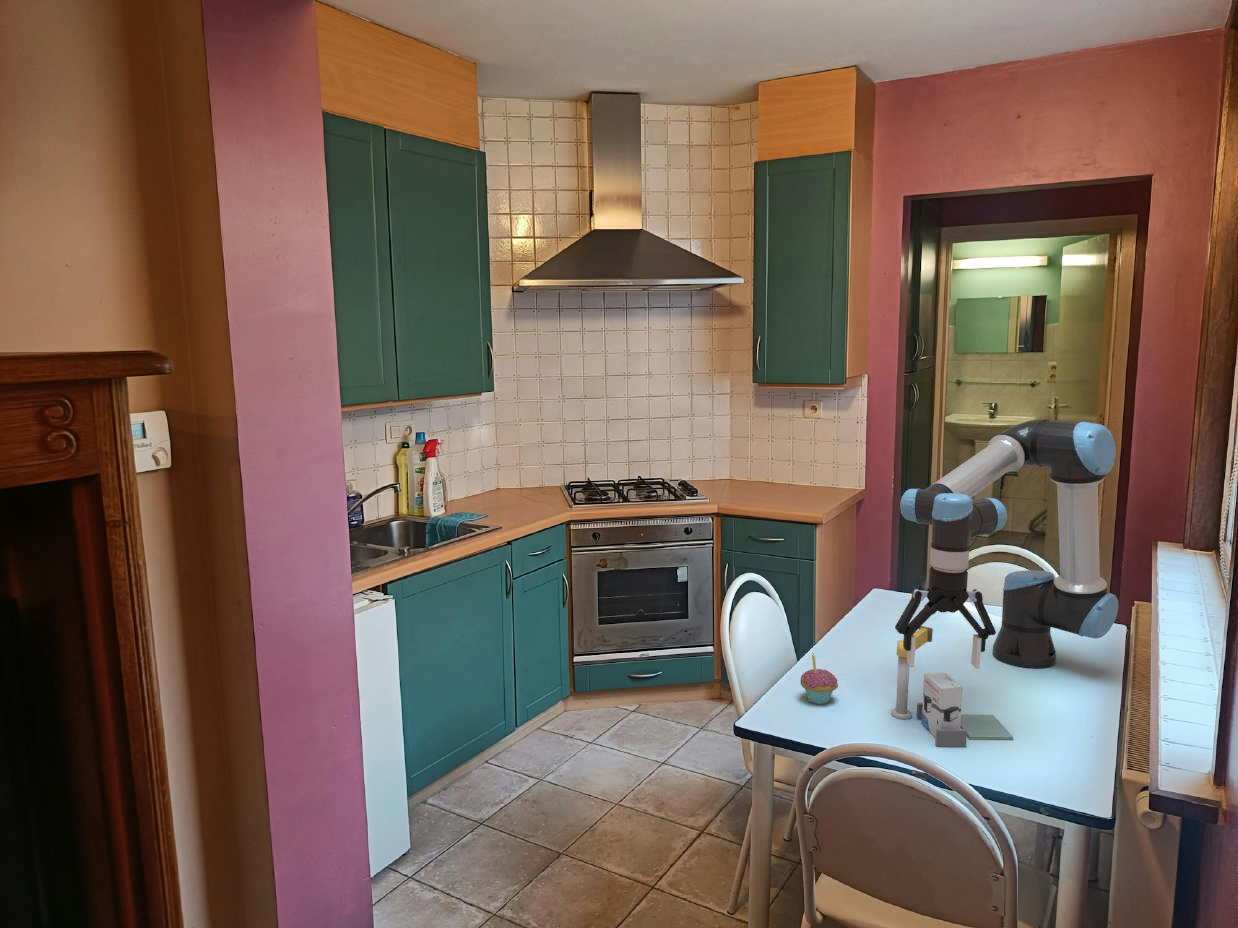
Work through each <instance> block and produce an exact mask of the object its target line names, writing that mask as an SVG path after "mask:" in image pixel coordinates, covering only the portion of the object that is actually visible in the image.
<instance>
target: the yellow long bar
mask: <svg viewBox="0 0 1238 928" xmlns="http://www.w3.org/2000/svg"><path fill="white" fill-rule="evenodd" d="M933 632H934V628H933V627H927V626H923V625H922V626H921V627H920V628H919V629H918V630H917V631H916V632H915V633H914V634H913V635H914V636H915V637H916V643H915V651H917V650H919V648H921V647H922V646H924V645H925V644H926V643H927V642H928V643H932V642H933ZM903 640H904V639H900V640H897V641H896V656H897V657H898V656H899V657H903V658H907V651H906V650H905V649H904V647H903Z"/></svg>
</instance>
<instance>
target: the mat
mask: <svg viewBox="0 0 1238 928" xmlns="http://www.w3.org/2000/svg"><path fill="white" fill-rule="evenodd" d="M960 729H966V731H967V738H968V739H969V740H971V741H972V740H975V741H977V740H981V741H983V740H984V741H985V740H986V741H988V740H989V741H990V740H991V741H992V740H993V741H1014V736H1013V735H1012V734H1011V733H1010V731H1008V729H1006V728H1005V726H1004V725H1003V724H1002V723H1001V722H1000V721H999V720H998V718H997V717H995V715H994V714H969V713H968V714H965V713H963V714H962V713H961V724H960Z"/></svg>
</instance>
